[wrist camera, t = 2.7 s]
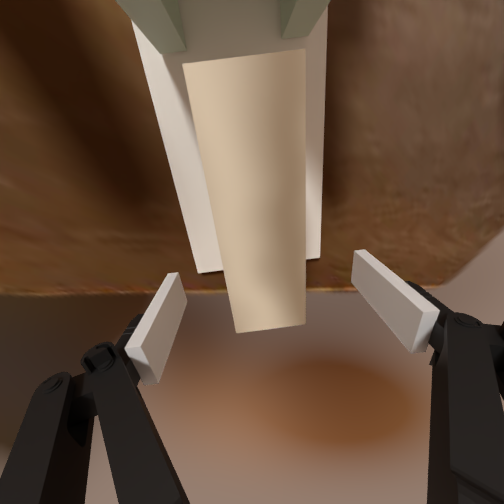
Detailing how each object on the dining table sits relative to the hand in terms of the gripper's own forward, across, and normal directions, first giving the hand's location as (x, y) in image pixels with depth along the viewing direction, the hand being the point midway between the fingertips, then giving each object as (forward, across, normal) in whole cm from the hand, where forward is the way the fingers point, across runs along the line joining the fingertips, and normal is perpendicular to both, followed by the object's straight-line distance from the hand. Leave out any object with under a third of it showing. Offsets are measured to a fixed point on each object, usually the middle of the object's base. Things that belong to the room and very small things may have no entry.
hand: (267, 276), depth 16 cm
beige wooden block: (+8, 0, +5) cm, 9 cm away
